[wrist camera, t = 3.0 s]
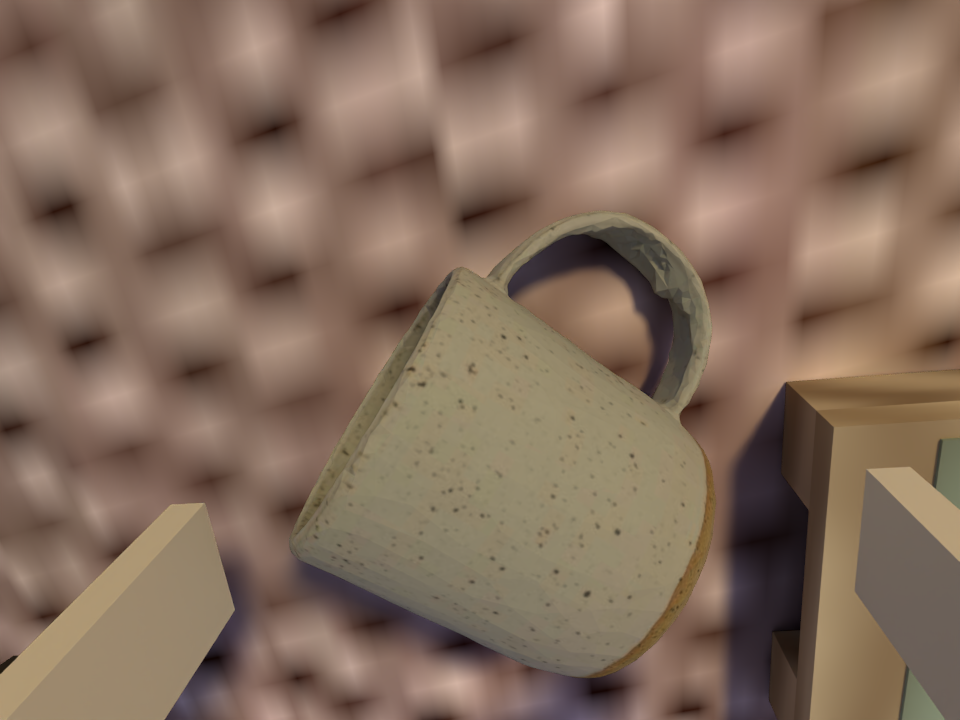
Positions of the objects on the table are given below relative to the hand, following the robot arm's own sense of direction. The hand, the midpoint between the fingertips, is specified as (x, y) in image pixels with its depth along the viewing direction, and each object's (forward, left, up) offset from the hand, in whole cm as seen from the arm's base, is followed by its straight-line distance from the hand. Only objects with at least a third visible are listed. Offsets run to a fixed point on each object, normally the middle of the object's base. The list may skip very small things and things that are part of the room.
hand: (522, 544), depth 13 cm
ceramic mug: (0, +1, -7) cm, 7 cm away
